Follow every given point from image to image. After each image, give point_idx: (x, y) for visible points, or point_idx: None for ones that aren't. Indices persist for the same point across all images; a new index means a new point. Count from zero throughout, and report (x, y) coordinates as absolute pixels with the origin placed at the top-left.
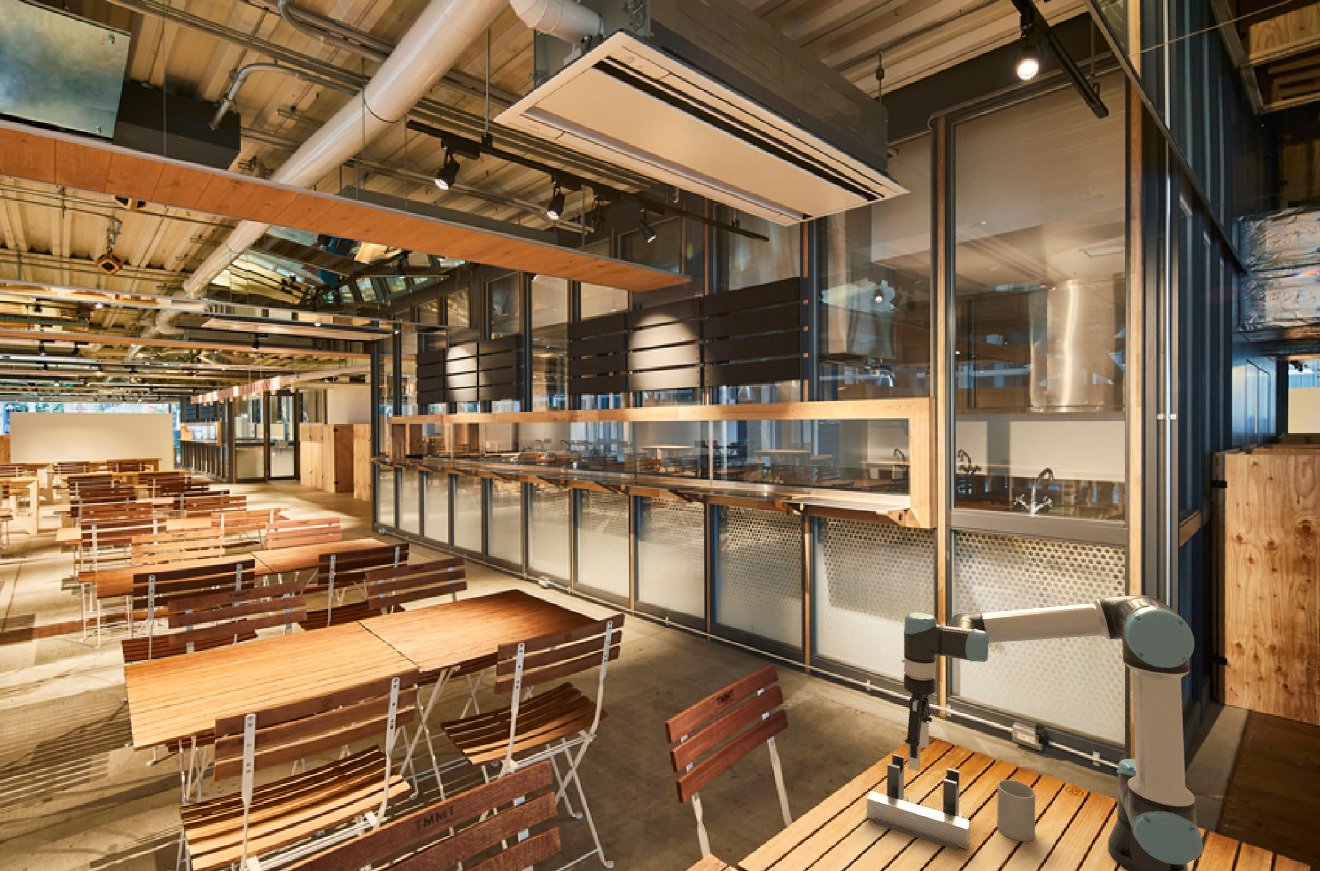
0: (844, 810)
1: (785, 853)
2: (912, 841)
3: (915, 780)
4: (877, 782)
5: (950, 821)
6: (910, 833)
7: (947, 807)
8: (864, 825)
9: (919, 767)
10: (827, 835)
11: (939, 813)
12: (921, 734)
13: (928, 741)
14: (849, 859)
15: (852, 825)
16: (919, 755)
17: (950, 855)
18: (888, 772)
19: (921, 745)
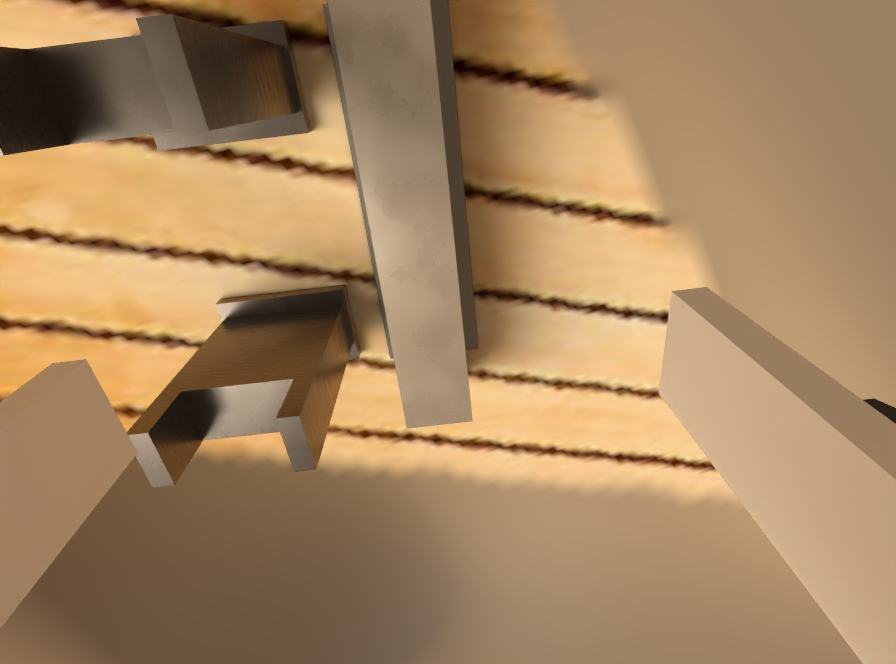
0: (466, 438)
1: None
2: (505, 195)
3: (38, 317)
4: None
5: (407, 32)
6: (466, 216)
7: (266, 90)
8: (512, 364)
9: (730, 307)
10: (635, 427)
11: (368, 114)
12: (13, 534)
13: (8, 405)
14: None
15: (536, 393)
16: (850, 396)
17: (509, 16)
18: (322, 434)
19: (111, 425)
